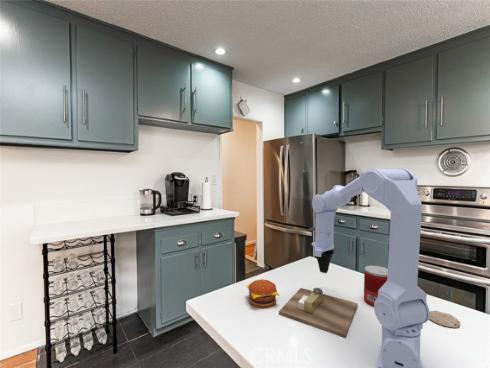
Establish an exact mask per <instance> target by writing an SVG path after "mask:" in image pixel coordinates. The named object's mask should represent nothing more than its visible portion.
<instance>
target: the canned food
mask: <svg viewBox="0 0 490 368" xmlns="http://www.w3.org/2000/svg"><path fill="white" fill-rule="evenodd" d="M363 271H364V273H363V278H364V279H363V299H364V302H365V303H366V304H367V305H369V306H371V307H373V308H374V303H375V301H376V299H377V298H378V291H379V289H380V288H381V287H382V286H383V285H384V284H385V283H386V281H387V276H388V267H387V268H386V267H384V266H380V265H367V266H364V270H363Z"/></svg>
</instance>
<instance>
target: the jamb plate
mask: <svg viewBox="0 0 490 368" xmlns="http://www.w3.org/2000/svg"><path fill="white" fill-rule="evenodd" d="M312 292H313V290H311V289H306V288H303V287H300V288H299V289H298V290H297V291H296V292H295V294H294V295H292V297H291V298H289V299H288V301H287V302H286V303H285V304H284V305H283V306H282V307H281V308H280V309H279V311H278V315H279V316H283V317H286V318H289V319H291V320H294V321H296V322H298V323H299V322H300V323H302V324H306V325H308V326H311V327H313V328H318V329H319V330H322V331H325V332H329V333H331V334H333V335H336V336H339V337H342V338H346V337H347V335H348V332H349V329H350V327H351V324H352V321H353V319H354V317H355V314H356V312H357V308H358V305H359V304H358V302H354V301H350V300H347V299H344V298H339V297H336V296H333V295H328V294H325V293H323V301H322V302H321V303H320V304H319V305H318V306H317V308H316V309H315V310H314V311H313V312H312V313H309V312H306V311H304V310H302V309H299V308H298V302H299V300H300V299H301V298H302V297H303V296H304V295H305V296H310V294H311V293H312Z"/></svg>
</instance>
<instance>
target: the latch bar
mask: <svg viewBox="0 0 490 368" xmlns="http://www.w3.org/2000/svg"><path fill="white" fill-rule="evenodd" d="M312 291H313V292H312V293H311V294H310V296H309V297H308V298H307V299H306V300H305V301H304V311H306V312H309V313H312V312H313V311H314V310H315V309H316V308H317V306H318V305H319V304H320V303H321V302H322V301H323V294H324V290H323V289H322V288H319V287H315V288H313V289H312Z"/></svg>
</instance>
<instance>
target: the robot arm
mask: <svg viewBox="0 0 490 368" xmlns="http://www.w3.org/2000/svg"><path fill="white" fill-rule="evenodd" d="M362 193H365V194H366V195H368V196H369V197H371V198H372V200H373V199H374V201H377V202H378V203H380V204H382V205H383V206H384V207H386V209H387V210H388V211H389V212H390V221H389V222H390V224H389V237H388V238H389V240H388V241H389V242H388V259H387V269H388V276H387V281H386V283H385V284H384V285H383V286H382V287H381V288H380V289H379V291H378V298H377V299H376V301H375V303H374V307H373V310H374V315H375V317H376V319H377V321H378V323H379V324H380V325H381V346H380V348H379V355H378V360H377V366H376V368H422V360H421V334H422V333H421V331H422V330H423V327H424V326H423V325H424V324H425V323H427V322H428V321H429V320H430V319H429V318H430V311H431V310H430V308H429V305H428V303H427V295H428V294H427V293H426V292H425V291H424V290H423V289H421V287H419V286H418V280H419V276H418V275H419V262H420V261H419V260H420V247H421V245H420V243H421V230H422V229H421V228H422V227H421V226H422V212H423V204H422V201H421V198H420V195H419V192H418V177H417V176H415V174H413V173H412V172H411V171H410V170H408V169H407V168H394V169H393V168H385V169H384V168H374V167H373V168H369V169H367V170H366V171H364V172H363V171H362V172H361V173H360V175H359V176H358V177H357V178H355V179H354V180H352V181H351V182H349V183H347V184H346V185H345V186H343V185H339V184H337V185H334V186H332V188H331V189H330V190H327V191H325V192H324V193H323V194H315V195H314V196H313V198H312V201H311V207H312V209H313V211H314V213H315V227H314V231H315V233H314V234H315V236H314V237H315V239H314V242H311V246H313V247H314V251H313V257H315V258H316V261H317V263H318V269H319V272H320V273H322V274H327V273H328V272H329V267H330V264H331V260H332V257H333V255H334V254H335V250H334V248H335V244H334V237H335V236H334V234H335V231H334V229H335V226H334V225H335V223H334V222H335V220H334V219H335V217H336V216H337V214H336V213H337V211H338V208H340V207H343V206H346V205H348V204H349V203H350V202H351V200H352V197H355V196H358V195H360V194H362Z"/></svg>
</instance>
